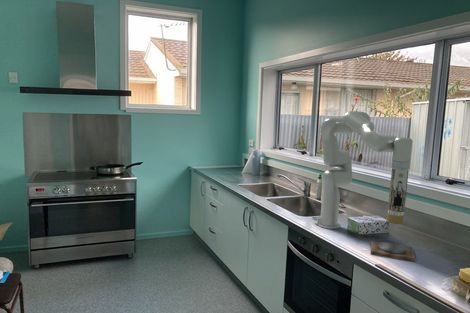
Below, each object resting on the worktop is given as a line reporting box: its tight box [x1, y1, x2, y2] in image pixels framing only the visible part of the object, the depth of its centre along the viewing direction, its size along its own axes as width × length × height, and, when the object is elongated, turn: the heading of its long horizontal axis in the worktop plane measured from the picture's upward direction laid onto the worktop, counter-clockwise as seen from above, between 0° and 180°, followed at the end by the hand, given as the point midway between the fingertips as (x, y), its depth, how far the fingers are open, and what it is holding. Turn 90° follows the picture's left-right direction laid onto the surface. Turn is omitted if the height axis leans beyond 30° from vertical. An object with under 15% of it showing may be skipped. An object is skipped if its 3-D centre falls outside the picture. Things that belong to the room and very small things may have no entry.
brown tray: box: [370, 240, 416, 263], centre depth 166 cm, size 18×15×2 cm
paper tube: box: [386, 168, 410, 225], centre depth 163 cm, size 7×7×25 cm
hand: (396, 203), depth 164 cm, fingers closed on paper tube, 6 cm apart
